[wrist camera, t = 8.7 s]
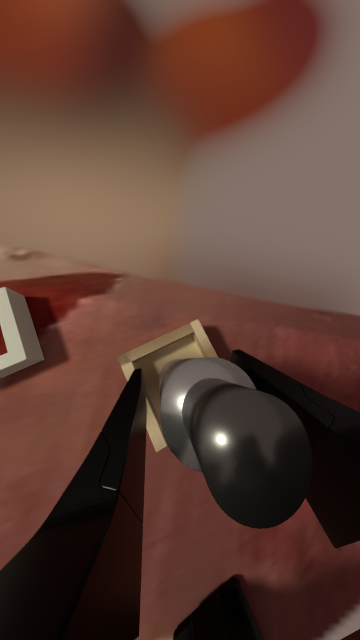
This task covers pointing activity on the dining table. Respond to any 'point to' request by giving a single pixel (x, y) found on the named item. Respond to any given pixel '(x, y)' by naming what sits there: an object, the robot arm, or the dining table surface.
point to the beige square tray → (153, 358)
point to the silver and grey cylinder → (236, 439)
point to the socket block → (17, 334)
